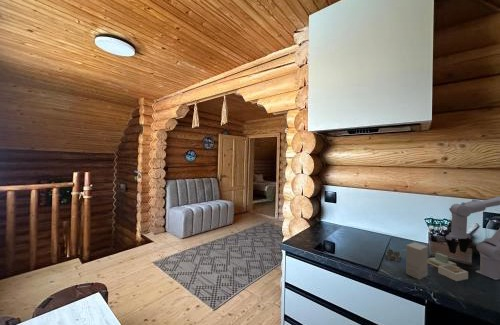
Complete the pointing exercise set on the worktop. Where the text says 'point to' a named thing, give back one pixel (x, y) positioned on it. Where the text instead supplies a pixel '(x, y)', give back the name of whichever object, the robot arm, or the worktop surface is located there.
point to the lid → (441, 260)
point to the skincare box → (416, 260)
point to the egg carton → (393, 255)
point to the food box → (455, 276)
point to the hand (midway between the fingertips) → (457, 252)
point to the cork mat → (436, 264)
